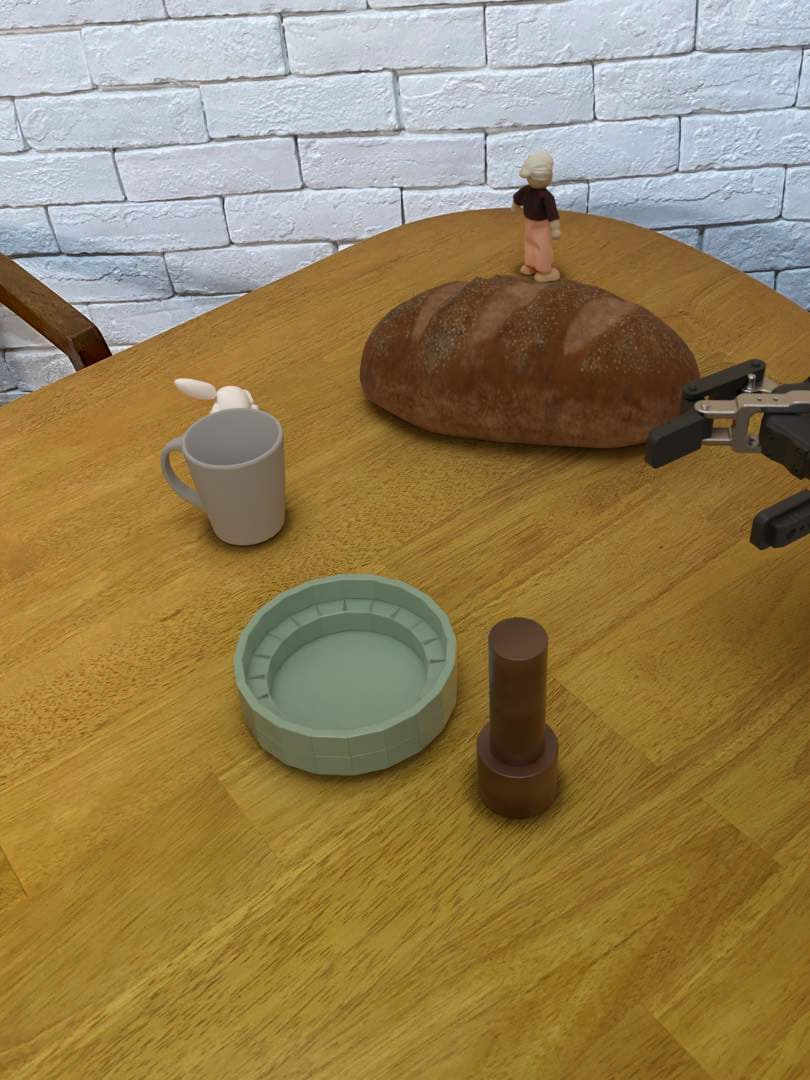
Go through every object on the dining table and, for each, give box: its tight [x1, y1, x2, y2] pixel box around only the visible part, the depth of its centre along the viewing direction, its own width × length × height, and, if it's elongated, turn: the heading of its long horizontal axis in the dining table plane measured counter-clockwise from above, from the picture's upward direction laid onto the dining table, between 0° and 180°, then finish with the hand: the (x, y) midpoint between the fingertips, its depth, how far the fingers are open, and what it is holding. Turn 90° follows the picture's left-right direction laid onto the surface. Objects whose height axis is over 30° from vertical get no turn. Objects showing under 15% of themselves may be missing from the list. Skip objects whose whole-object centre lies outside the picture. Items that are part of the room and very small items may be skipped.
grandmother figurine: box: [510, 150, 562, 283], centre depth 113 cm, size 8×4×13 cm, turn 43°
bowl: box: [232, 573, 459, 777], centre depth 74 cm, size 14×14×4 cm
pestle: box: [475, 616, 559, 819], centre depth 65 cm, size 5×5×13 cm
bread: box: [359, 274, 701, 449], centre depth 96 cm, size 16×29×11 cm, turn 75°
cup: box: [159, 408, 286, 546], centre depth 87 cm, size 8×10×8 cm
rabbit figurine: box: [173, 377, 260, 414], centre depth 98 cm, size 6×4×8 cm
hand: (700, 491), depth 62 cm, fingers open, 8 cm apart
